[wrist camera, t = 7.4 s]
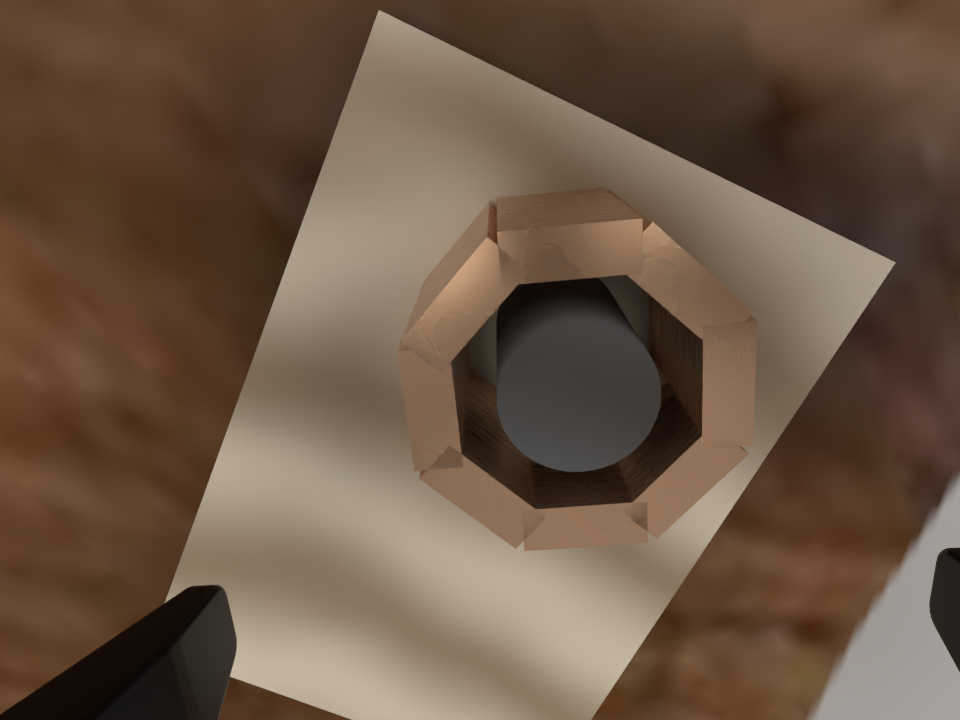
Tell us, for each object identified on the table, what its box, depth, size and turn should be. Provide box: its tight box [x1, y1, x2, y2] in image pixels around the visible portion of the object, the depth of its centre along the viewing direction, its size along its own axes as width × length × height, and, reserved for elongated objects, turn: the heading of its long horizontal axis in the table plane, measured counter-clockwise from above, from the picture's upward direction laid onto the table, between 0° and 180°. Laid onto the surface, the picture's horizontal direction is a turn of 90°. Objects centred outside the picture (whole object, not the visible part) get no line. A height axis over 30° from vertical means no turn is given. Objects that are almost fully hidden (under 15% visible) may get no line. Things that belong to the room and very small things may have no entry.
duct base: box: [165, 10, 896, 720], centre depth 18 cm, size 20×14×6 cm
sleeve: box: [397, 188, 758, 551], centre depth 16 cm, size 7×7×5 cm
